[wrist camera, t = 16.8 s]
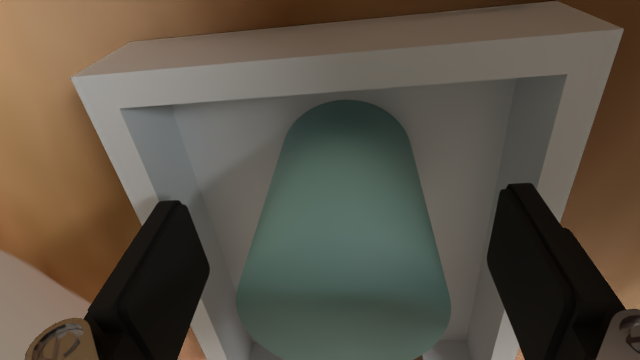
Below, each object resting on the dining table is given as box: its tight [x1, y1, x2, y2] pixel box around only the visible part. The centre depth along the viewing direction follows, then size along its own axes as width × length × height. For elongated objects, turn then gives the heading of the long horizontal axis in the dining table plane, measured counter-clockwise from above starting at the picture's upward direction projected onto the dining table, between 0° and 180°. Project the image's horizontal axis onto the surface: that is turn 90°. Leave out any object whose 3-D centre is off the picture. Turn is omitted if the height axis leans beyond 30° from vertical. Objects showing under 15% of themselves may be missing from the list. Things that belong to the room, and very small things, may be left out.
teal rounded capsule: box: [236, 100, 451, 360], centre depth 12 cm, size 5×5×7 cm
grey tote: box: [70, 1, 624, 360], centre depth 16 cm, size 18×14×4 cm
